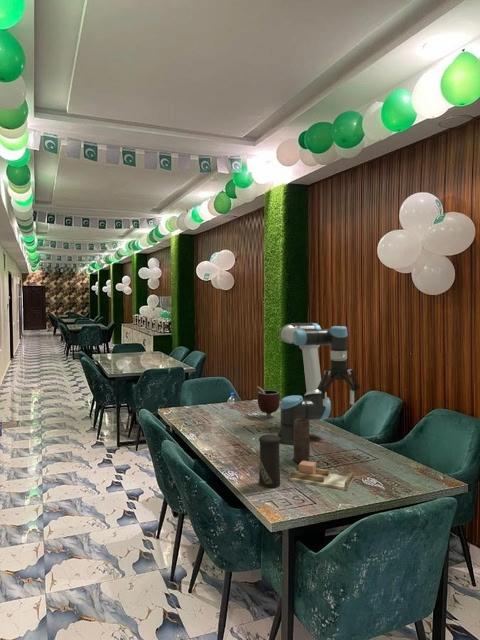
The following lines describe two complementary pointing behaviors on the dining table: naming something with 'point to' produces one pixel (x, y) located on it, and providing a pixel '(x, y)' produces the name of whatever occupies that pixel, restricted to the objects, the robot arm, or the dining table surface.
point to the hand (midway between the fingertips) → (338, 405)
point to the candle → (301, 440)
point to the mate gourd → (268, 404)
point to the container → (269, 461)
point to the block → (307, 467)
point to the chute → (323, 479)
